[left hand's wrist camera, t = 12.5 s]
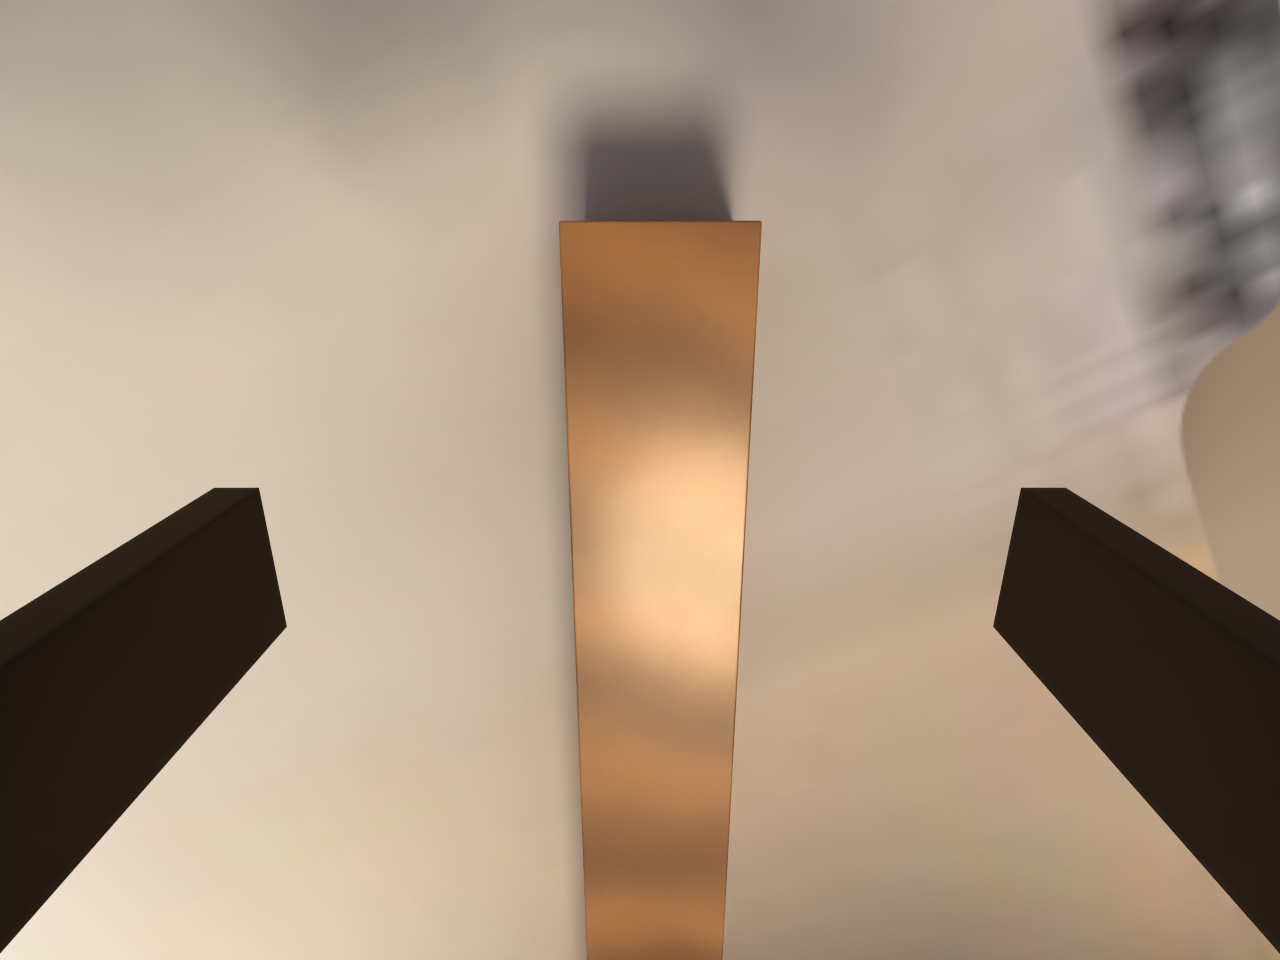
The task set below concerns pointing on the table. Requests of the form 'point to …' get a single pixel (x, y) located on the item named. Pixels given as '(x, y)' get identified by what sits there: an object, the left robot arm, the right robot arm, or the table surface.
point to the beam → (657, 565)
